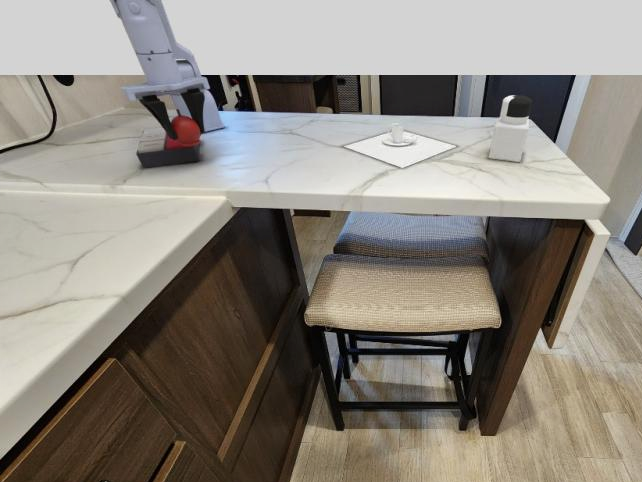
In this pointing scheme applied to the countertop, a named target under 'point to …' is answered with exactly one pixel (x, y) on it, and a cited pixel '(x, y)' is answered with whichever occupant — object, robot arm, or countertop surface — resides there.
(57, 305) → the countertop surface
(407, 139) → the teacup and saucer
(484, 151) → the countertop surface
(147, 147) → the grey box
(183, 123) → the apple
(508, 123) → the medicine bottle
